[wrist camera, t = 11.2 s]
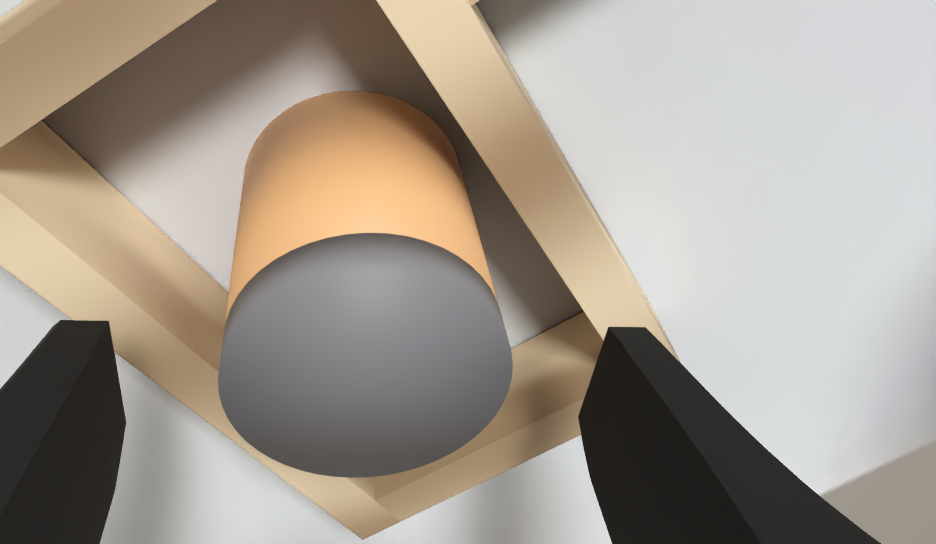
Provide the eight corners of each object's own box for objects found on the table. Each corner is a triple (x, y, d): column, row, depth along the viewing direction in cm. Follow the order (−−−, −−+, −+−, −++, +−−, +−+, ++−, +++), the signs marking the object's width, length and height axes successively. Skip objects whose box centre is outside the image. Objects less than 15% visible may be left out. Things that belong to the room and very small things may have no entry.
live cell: (438, 282, 16) (478, 479, 13) (238, 266, 15) (213, 475, 12) (482, 106, 14) (546, 283, 10) (249, 75, 13) (223, 257, 9)
